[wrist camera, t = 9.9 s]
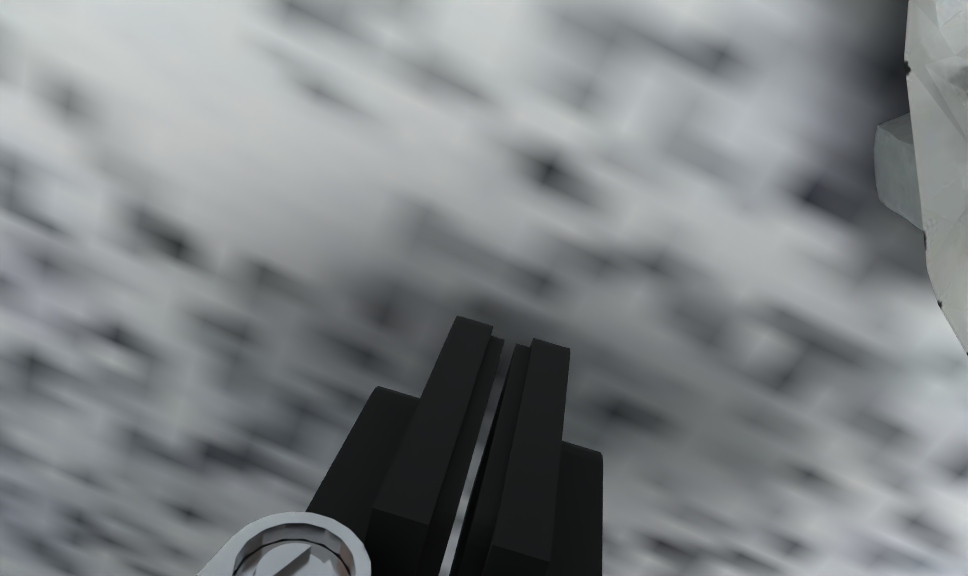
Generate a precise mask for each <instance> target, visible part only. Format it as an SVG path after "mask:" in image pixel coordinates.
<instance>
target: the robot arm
mask: <svg viewBox="0 0 968 576" xmlns="http://www.w3.org/2000/svg"><path fill="white" fill-rule="evenodd" d="M492 329H493V326H491V325H488V324H484V323H481V322H477V321H474V320H471V319H467V318H464V317H460V316H456V318H455V321H454V323H453V325H452V327H451V330H450V332H449V334H448V337H447V339H446V341H445V343H444V346H443V348H442V350H441V352H440V355H439V357H438V359H437V362H436V364H435V366H434V368H433V371H432V373H431V375H430V377H429V380H428V382H427V384H426V387H425V389H424V391H423V393H422V396H421V398H417V397H413V396H410V395H407V394H403V393H400V392H397V391H393V390H390V389H386V388H383V387H380V386H378V387H376V388H375V389H374V391H373V392H372V394H371V396H370V397H369V399H368V401H367V403H366V405H365V406H364V408H363V410H362V412H361V414H360V415H359V417H358V419H357V421H356V422H355V424H354V426H353V428H352V430H351V431H350V433H349V435H348V437H347V438H346V440H345V442H344V444H343V446H342V447H341V449H340V451H339V453H338V455H337V456H336V458H335V460H334V462H333V463H332V465H331V467H330V469H329V471H328V472H327V474H326V476H325V478H324V480H323V481H322V483H321V485H320V487H319V488H318V490H317V492H316V494H315V496H314V497H313V499H312V501H311V503H310V504H309V506H308V508H307V510H306V512H292V511H289V512H284V513H278V514H272V515H267V516H265V517H263V518H261V519H258V520H256V521H254V522H252V523H249V524H247V525H246V526H245V527H243V528H242V529H241V530H240V531H239V532H237V533H236V534H235V535H234V536H232V537H231V538H230V539H229V540H228V541H227V542H226V543H225V544H224V546H223V547H222V548H221V549H220V550H219V551H218V552H217V553H216V554H215V555H214V556H213V558H212V559H211V560H210V561H209V562H208V563H207V564H206V565H205V566H204V567H203V568H202V570H201V571H200V572H199V573H198V574H197V575H196V576H438V574H439V571H440V568H441V564H442V561H443V558H444V554H445V551H446V547H447V544H448V540H449V537H450V533H451V530H452V526H453V523H454V519H455V516H456V512H457V509H458V505H459V502H460V498H461V495H462V491H463V487H464V484H465V480H466V477H467V473H468V469H469V466H470V462H471V459H472V455H473V452H474V448H475V444H476V441H477V437H478V434H479V430H480V427H481V423H482V419H483V416H484V412H485V409H486V405H487V402H488V398H489V394H490V391H491V387H492V384H493V380H494V376H495V373H496V369H497V366H498V362H499V359H500V355H501V351H502V348H503V344H504V341H505V340H504V339H500V338H497V337H493V336H491V333H492ZM569 360H570V348H566V347H563V346H560V345H556V344H553V343H549V342H546V341H542V340H539V339H536V338H533V340H532V343H531V346H530V347H528V346H524V345H521V344H517V343H516V346H515V349H514V352H513V356H512V359H511V362H510V366H509V369H508V372H507V375H506V379H505V382H504V385H503V389H502V392H501V395H500V399H499V402H498V405H497V409H496V412H495V415H494V419H493V422H492V425H491V428H490V432H489V435H488V438H487V442H486V445H485V448H484V452H483V455H482V458H481V462H480V465H479V468H478V472H477V475H476V478H475V481H474V485H473V488H472V492H471V495H470V499H469V502H468V506H467V510H466V513H465V517H464V521H463V525H462V529H461V532H460V536H459V540H458V544H457V548H456V552H455V555H454V559H453V563H452V567H451V571H450V574H449V576H602V521H603V457H602V454H601V453H600V452H598V451H594V450H591V449H588V448H584V447H581V446H577V445H574V444H571V443H567V442H564V441H562V432H563V422H564V412H565V401H566V391H567V381H568V371H569Z"/></svg>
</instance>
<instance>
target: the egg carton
mask: <svg viewBox="0 0 968 576" xmlns="http://www.w3.org/2000/svg"><path fill="white" fill-rule="evenodd" d="M904 63H905V71H906V80H907V89H908V97H909V106H910V113H907V114H905V115H902V116H900V117H897V118H895V119H892V120H889V121H887V122H884V123H881V124H878V125H877V130H876V136H875V146H874V168H875V181H876V187H877V193H878V198H879V200H880V201H881V202H882V203H883V204H884V205H885V206H886V207H888V208H889V209H890V210H892V211H894V212H895V213H897V214H899V215H901V216H903V217H904V218H906V219H907V220H908V221H909V222H911V223H912V224H913V225H914V226H916V227H917V228H919V229H920V230H922V231H923V232H924V242H925V253H926V264H927V271H928V275H929V278H930V281H931V284H932V287H933V290H934V293H935V296H936V299H937V302H938V305H939V307H940V308H941V310H942V312H943V313H944V315H945V317H946V319H947V320H948V322H949V324H950V326H951V327H952V329H953V331H954V333H955V334H956V336H957V338H958V340H959V341H960V343H961V345H962V347H963V348H964V350H965V352H966V353H967V355H968V0H909V2H908V15H907V28H906V41H905V54H904Z"/></svg>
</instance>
